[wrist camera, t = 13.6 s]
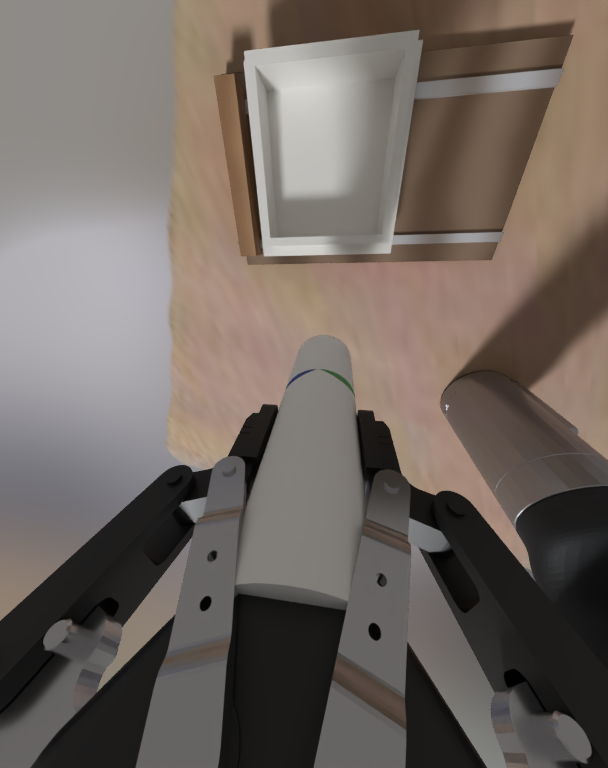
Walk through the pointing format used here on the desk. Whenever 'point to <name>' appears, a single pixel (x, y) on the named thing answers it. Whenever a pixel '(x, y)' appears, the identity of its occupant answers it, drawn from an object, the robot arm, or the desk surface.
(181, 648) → the robot arm
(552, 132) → the desk surface
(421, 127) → the track
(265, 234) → the white open tray
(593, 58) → the desk surface
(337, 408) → the tube
